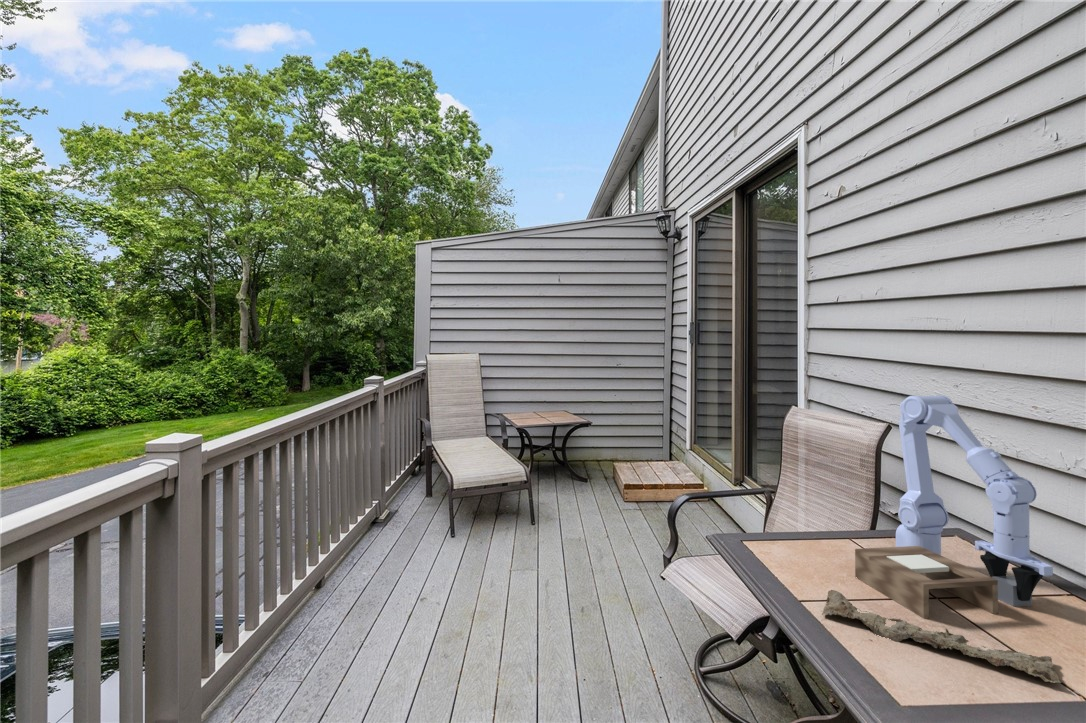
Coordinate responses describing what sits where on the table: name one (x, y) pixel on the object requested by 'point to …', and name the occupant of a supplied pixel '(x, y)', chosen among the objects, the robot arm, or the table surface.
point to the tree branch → (941, 639)
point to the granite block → (1009, 591)
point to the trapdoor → (920, 563)
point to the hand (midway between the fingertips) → (1011, 594)
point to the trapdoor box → (923, 579)
